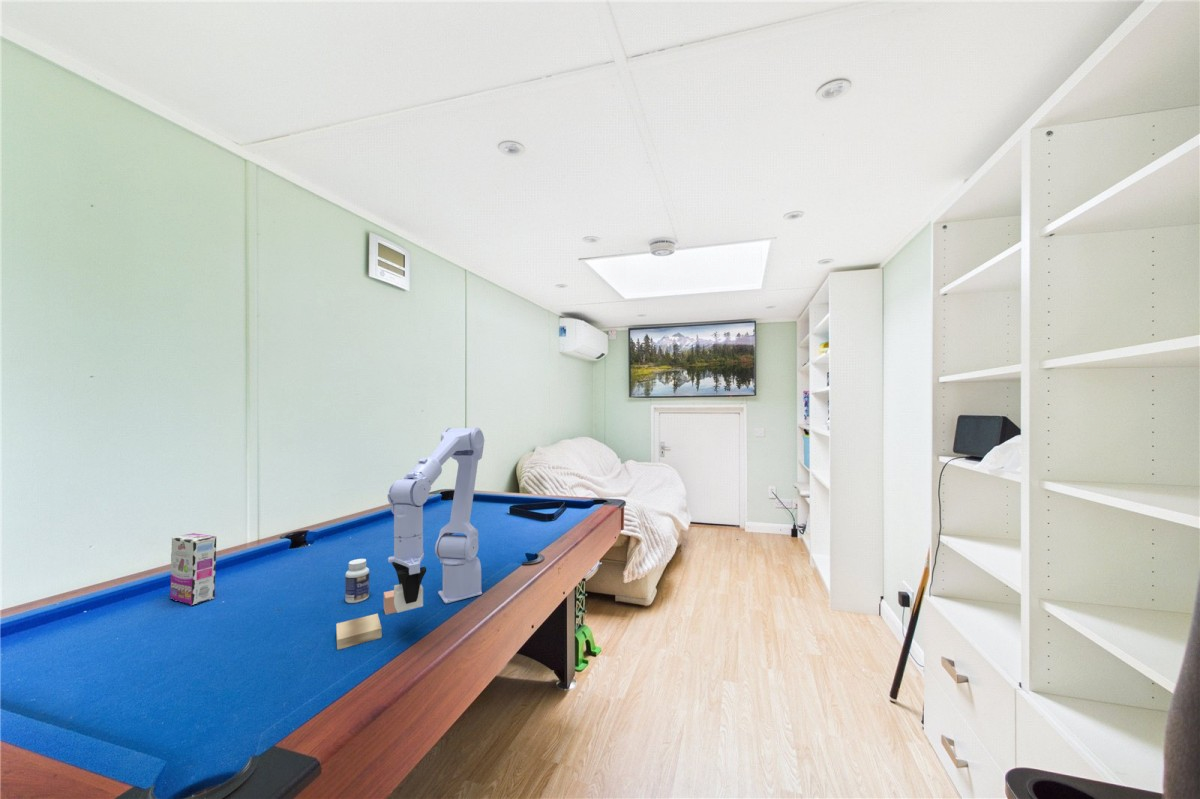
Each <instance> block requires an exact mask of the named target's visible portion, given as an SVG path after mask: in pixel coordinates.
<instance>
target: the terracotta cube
mask: <svg viewBox="0 0 1200 799" xmlns="http://www.w3.org/2000/svg"><path fill="white" fill-rule="evenodd" d="M383 610H384V614H385V616H386V615H391V614H395V613H397V610H396V608H395V605H394V589H393V590H389V591H384V592H383Z"/></svg>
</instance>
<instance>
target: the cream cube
mask: <svg viewBox="0 0 1200 799" xmlns="http://www.w3.org/2000/svg"><path fill="white" fill-rule="evenodd" d="M393 590H394V605H395V608H396V610H397V612H396V613H397V614H398V613H402V612H406V611H410V610H413V609H417V608H422V607H424V586H423V585H422V584H420V588H419V593H418V598H417V601H416V602H412V603H408V604H406V602H405V599H404V594H403V587H402V584H399V583H398V584H394V585H393Z"/></svg>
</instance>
